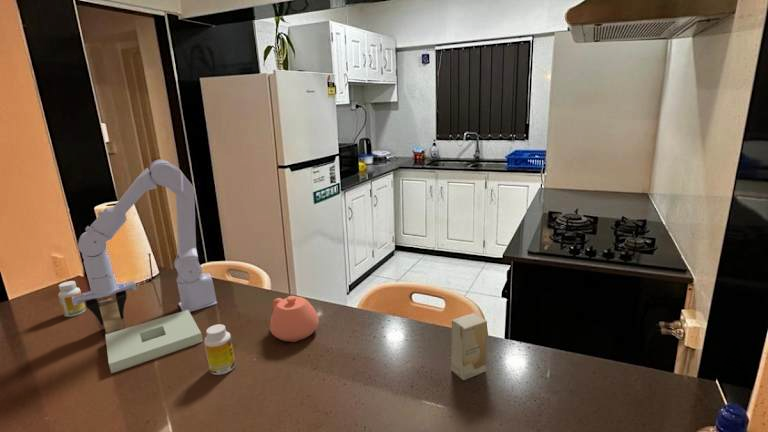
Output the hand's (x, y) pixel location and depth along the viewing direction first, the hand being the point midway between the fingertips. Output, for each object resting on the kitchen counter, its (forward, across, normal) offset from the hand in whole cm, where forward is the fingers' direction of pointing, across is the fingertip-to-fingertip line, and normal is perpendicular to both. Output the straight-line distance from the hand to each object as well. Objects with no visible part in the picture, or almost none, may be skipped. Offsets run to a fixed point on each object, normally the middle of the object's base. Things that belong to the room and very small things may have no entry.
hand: (112, 320), depth 115 cm
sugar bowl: (+3, -38, +35) cm, 52 cm away
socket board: (+2, -8, +16) cm, 18 cm away
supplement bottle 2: (+3, -19, +39) cm, 43 cm away
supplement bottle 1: (+3, +9, -19) cm, 21 cm away
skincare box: (+3, -61, +75) cm, 97 cm away
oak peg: (+2, 0, 0) cm, 2 cm away
